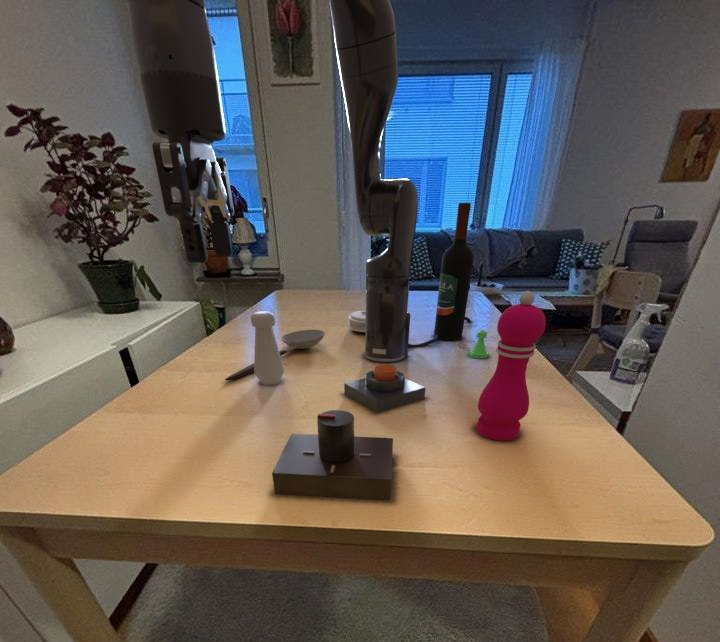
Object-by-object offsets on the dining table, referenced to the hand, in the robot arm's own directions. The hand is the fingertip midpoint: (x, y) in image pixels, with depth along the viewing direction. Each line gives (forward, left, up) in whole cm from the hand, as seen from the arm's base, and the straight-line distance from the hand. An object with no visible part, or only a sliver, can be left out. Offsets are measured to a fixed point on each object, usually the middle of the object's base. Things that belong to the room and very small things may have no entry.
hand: (212, 258), depth 49 cm
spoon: (-19, -28, -24) cm, 41 cm away
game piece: (-60, -4, -24) cm, 65 cm away
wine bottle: (-66, -20, -24) cm, 73 cm away
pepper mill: (-32, +24, -24) cm, 46 cm away
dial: (-5, +20, -20) cm, 29 cm away
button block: (-26, +3, -23) cm, 35 cm away
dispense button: (-26, +3, -20) cm, 33 cm away
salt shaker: (-12, -16, -24) cm, 31 cm away
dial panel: (-5, +20, -23) cm, 31 cm away
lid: (-53, -38, -24) cm, 69 cm away
